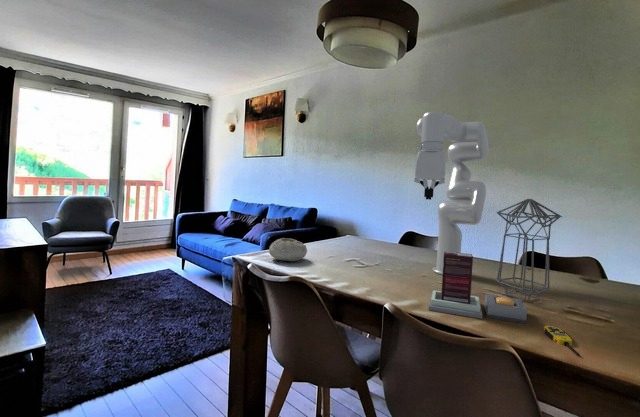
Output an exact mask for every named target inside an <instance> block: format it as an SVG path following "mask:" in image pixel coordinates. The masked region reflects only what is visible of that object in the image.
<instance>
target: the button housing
mask: <svg viewBox="0 0 640 417" xmlns="http://www.w3.org/2000/svg"><path fill="white" fill-rule="evenodd" d="M484 296H485V297H484V310H485V314H486V318H490V319H495V320H501V321H506V322H507V321H508V322H514V323H519V324H527V318H528V317H527V316H528V315H527V314H528V309H527V307H526V306H525V303H524V301H523V300H521V299H522V298H520V299H517V298H514V297H510V296H509V297H507V296H501V295H494V294H493V295H492V294H487V293H485V295H484ZM497 297H503V298H509V299H512V300H514V301H515V303H514V306H512V305H505V304H499V303H496V298H497Z"/></svg>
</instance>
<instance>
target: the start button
mask: <svg viewBox="0 0 640 417" xmlns="http://www.w3.org/2000/svg"><path fill="white" fill-rule="evenodd" d="M503 297H504V296H502V297H497V298H496V303H499V304H505V305H512V306H514V303H515V301H514V300H512V299H509V298H510V297H509V298H503Z"/></svg>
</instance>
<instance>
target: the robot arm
mask: <svg viewBox="0 0 640 417" xmlns="http://www.w3.org/2000/svg"><path fill="white" fill-rule="evenodd" d="M416 132H417V135H418V136H419V137H420V138H421V141H420V144H416V149H419V150H420V151H418V152H417V157H416V159H415V160H416V161H415V167H414V168H415V171H414V180H413V181H414V183H417V184H420V185H421V186H423V188H424V192H423V194H424V198H425V200H432V198H434V189H435V188H436V187H437V186H438V185H441V184H446V169H447V168H446V163H447V162H446V160H447V159H446V151H444V141H449V142H453V143H451V144H450V145H449V146H448V148H447V158H448V163H449V168H450V176H449V181H448V185H447V188H446V189H447V190H446V197H447V199H448V200H445V201H442V202H441V203H439V205H438V207H437V208H438V209H437V216H438V238H437V240H438V241H437V251H436V252H437V253H436V266H434V267H432V272H433V273H435V274H438V275H443V258H444V252H455V253H462V239H463V235H462V231H461V230H462V229H460V227H459V224H460V225H470V226H473V225H474V226H476V225H479V224H480V222H481V220H482V216H483V212H484V205H485V201H486V195H487V186H486V184H485V183H484V182H483V181H480V180H471V178H472V172H471V169H469V167H468V166H467V164H465V163H464V162H484V161H486V160H487V159H488V158H489V154H490V147H489V141H488V133H487V130H486V126H485V124H484V123H483V122H481V121H465V122H464V121H463V122H462V121H459V120H457V119H456V118H455V116H453V115H450V114H444V112H442V111H428V112H425V113H424V114H423V116H422V117H420V118H419V119H418V121H417V122H416ZM428 181H431V184H430V186H429V184H428Z"/></svg>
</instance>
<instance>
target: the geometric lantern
mask: <svg viewBox="0 0 640 417" xmlns="http://www.w3.org/2000/svg"><path fill="white" fill-rule="evenodd" d="M528 205H529V208H530V212H531V213H529V212H525V211H526V209H527V207H528ZM513 207H515V208H513ZM511 208H512V209H511ZM542 208H543V209H544V210H546V211H548V212H550V213H552V214H547V213H546V212H545V211H544V210H543V209H542ZM509 209H511V210H510V211H509V212H507V213H503V212H505V211H506V210H507V211H508V210H509ZM496 214H497V215H498V216H500V218H502V219H503V220H504V221H505V222H506V223H505V231H504V234H503V241H502V246H501V253H500V259H499V264H498V270H497V277H496V282H497V283H499V284H500V286H501V287H503V289H504V290H505V291H504V295H506V296H509V297H510V298H516V299H521V300H522V302H527V303H529V302H533V301H538V300H540V294H541V293H543V292H545V291H547V290H550V239H551V230H552V229H551V226H552V224H554V223H555V222H556V221H557V220H559V219H561V218H563V216H562V215H560V214H558V212H555V211H553V210H551V209H550V208H549V207H546V206H545V205H544V204H541V203H540V202H538V201H536V200H534V199H533V198H526V199H524V200H522V201H519V202H517V203H514V204H512V205H510V206H508V207H505V208H503V209H502V210H499V211H496ZM522 214H523V215H522ZM505 216H506V217H505ZM533 218H536V220H534V219H533ZM515 219H516V222H514V221H515ZM519 219H524V220H520V221H519ZM547 219H548V220H547ZM529 220H530V221H532V222H533V224H532V225H531V226H530V227H529V228H528V230H527V231H526V232H525V230H524V228H523V227H522V225H521V224H523V223H525V222H527V221H529ZM542 220H543V221H544V222H542ZM508 224H509V226H508ZM536 224H538V225H540V226H541V227H540V228H539V230H538V231H537V232H536V233H535V234H529V232H530V231H531V230H532V229H533V227H535V225H536ZM511 226H515V228H516V230H517V231H518V232H517V233H508V231H509V229H510V227H511ZM518 226H519V228H520V229H519V228H518ZM546 227H548V233H547V230H546ZM542 228H543V230H544V233H545V236H543V235H538V233H539V232H540V231H541V230H542ZM520 230H521V232H522V233H521V232H520ZM516 235H518V236H516ZM521 236H524V237H521ZM528 236H530V237H531V236H532V238H529V237H528ZM506 237H511V238H516V239H517V244H516V245H517V246H516V253H515V260H514V267H513V274H512V276H511V277H506V278H502V272H503V260H504V252H505V245H506ZM535 237H537V238H535ZM521 239H523V245H522V256H521V257H522V258H521V267H520V268H521V269H520V271H521V272H520V277H515V275H516V270H517V269H516V268H517V261H518V255H519V246H520V241H521ZM542 240H543V241H544V240H546V250H545V251H546V252H545V272H544V283H542V282H541V283H540V282H537V281H534V269H535V268H534V267H535V266H534V265H535V264H534V261H535V260H534V259H535V257H534V256H535V241H542ZM528 241H531V243H532V244H531V280H529V279H526V271H527V270H526V269H527V255H528V244H529V243H528ZM506 280H508V281H509V280H513V283H514V285H512V284H508V283H506V282H502V281H506ZM516 280H519V284H518V285H517V283H516ZM525 282H528V283H531V289H530V288H527V287H525V286H526V285H525V284H526V283H525ZM521 283H522V286H521ZM534 284H536V285H538V286H539V285H540V286H542V287H541V288H534ZM506 286H508V287H506ZM513 288H514V290H511V289H513ZM527 292H529V293H527ZM533 292H534V293H533ZM513 293H516V294H519V295H521V296H524V299H522V298H520V297H517V296H515V295H511V294H513ZM527 297H528V299H527ZM530 297H533V298H534V299H530Z"/></svg>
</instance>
